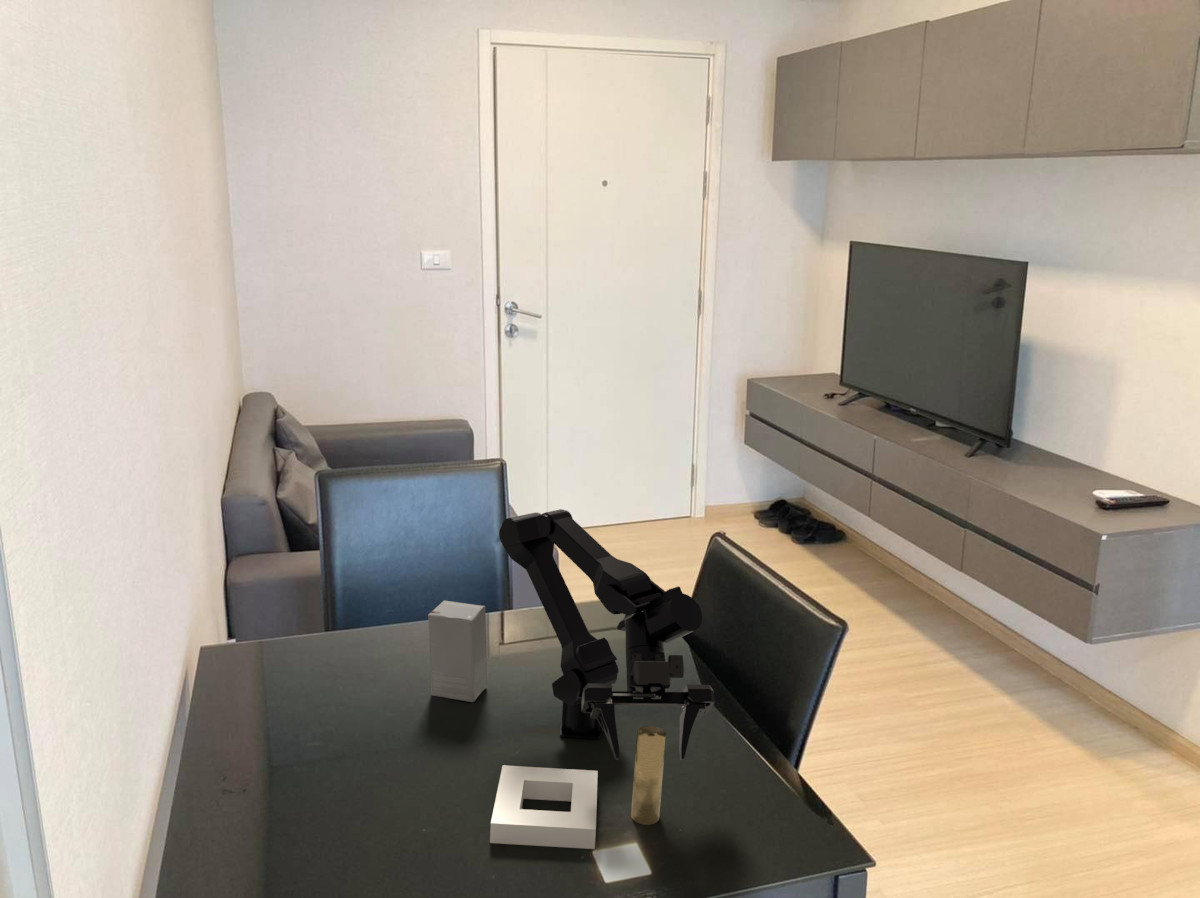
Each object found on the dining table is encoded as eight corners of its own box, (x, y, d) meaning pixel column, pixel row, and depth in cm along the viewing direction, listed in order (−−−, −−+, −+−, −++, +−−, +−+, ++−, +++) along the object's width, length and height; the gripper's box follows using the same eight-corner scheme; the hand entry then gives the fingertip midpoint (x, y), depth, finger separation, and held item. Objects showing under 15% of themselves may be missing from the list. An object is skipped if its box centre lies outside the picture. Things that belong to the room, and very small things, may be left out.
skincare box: (487, 687, 172) (490, 604, 168) (471, 706, 165) (473, 619, 161) (443, 679, 174) (445, 596, 170) (426, 697, 167) (427, 611, 164)
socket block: (490, 842, 130) (490, 823, 129) (501, 783, 143) (502, 765, 143) (594, 849, 130) (595, 829, 129) (596, 789, 143) (597, 770, 143)
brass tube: (631, 824, 136) (637, 740, 133) (630, 807, 140) (636, 725, 136) (659, 825, 136) (666, 741, 133) (658, 808, 140) (665, 726, 136)
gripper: (587, 631, 137) (588, 743, 128) (717, 633, 138) (727, 744, 130) (580, 658, 146) (581, 764, 138) (703, 660, 148) (711, 765, 140)
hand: (649, 759), depth 136 cm, fingers open, 9 cm apart
